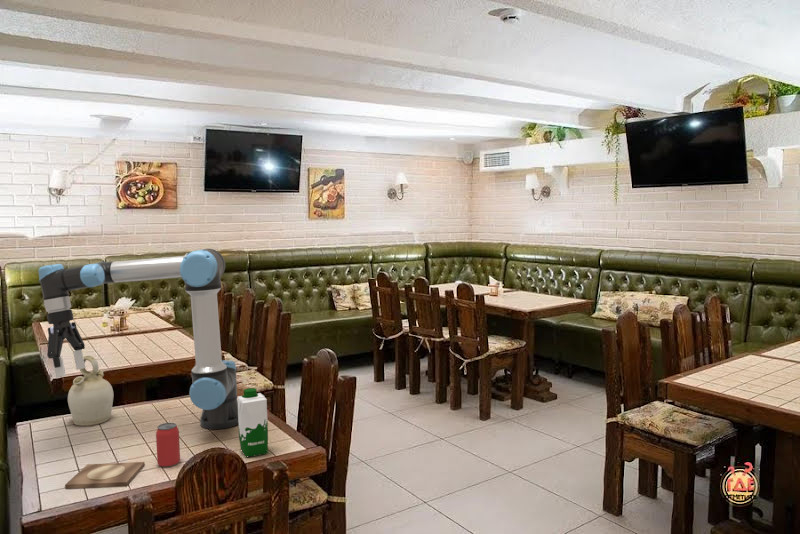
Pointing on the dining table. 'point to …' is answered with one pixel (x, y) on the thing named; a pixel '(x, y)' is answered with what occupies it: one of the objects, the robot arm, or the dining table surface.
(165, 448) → the beer can
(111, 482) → the serving board
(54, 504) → the dining table surface
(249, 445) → the milk carton
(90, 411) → the jug
